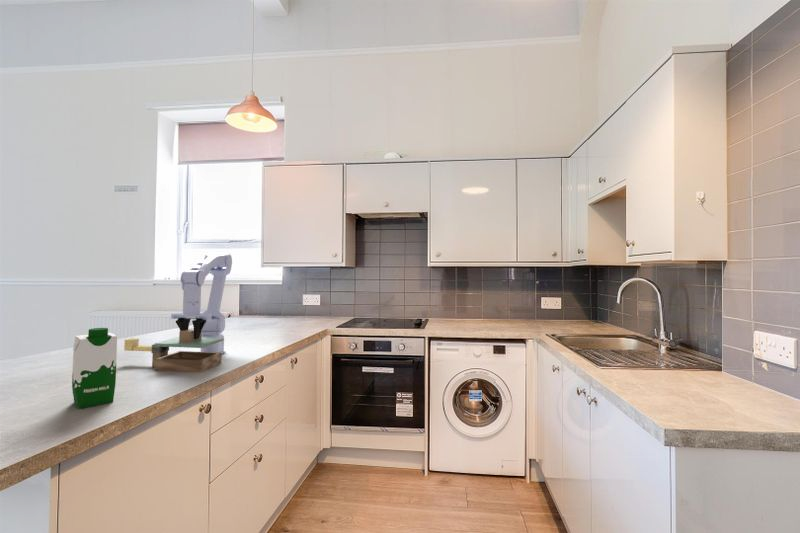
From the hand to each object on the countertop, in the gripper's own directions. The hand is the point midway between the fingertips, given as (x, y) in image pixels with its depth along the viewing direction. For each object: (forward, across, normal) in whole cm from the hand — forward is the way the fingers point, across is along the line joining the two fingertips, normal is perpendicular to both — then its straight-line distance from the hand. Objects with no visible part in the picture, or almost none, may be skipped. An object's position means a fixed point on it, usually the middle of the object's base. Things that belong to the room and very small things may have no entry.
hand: (190, 338), depth 133 cm
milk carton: (+11, -2, -37) cm, 39 cm away
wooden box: (+10, -2, 0) cm, 11 cm away
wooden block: (+5, -18, 0) cm, 19 cm away
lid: (+2, 0, 0) cm, 2 cm away
